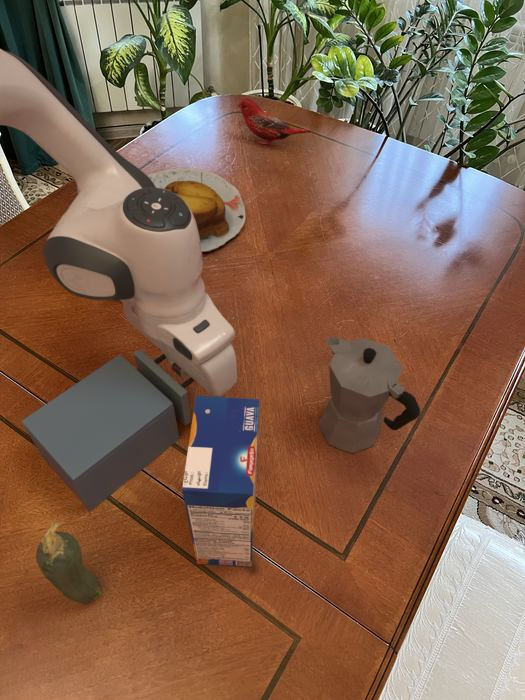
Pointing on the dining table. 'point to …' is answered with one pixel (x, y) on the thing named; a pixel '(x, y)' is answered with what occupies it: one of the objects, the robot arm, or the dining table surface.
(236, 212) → the food on plate
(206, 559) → the beverage box
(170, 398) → the drawer
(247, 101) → the decorative bird figurine
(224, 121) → the dining table surface
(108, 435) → the cabinet
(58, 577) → the vegetable
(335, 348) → the coffeepot
